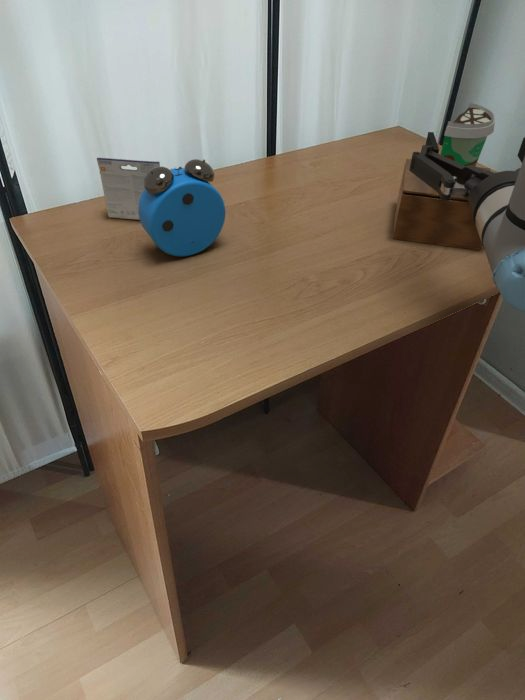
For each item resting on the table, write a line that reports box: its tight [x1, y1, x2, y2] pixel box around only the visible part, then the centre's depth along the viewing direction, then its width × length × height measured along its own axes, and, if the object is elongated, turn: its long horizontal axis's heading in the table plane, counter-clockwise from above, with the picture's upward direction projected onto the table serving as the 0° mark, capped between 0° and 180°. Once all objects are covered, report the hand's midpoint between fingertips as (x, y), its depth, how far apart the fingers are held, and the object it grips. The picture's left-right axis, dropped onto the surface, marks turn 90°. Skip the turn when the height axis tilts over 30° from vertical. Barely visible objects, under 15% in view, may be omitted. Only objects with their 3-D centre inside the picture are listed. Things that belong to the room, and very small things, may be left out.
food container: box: [439, 101, 496, 167], centre depth 91 cm, size 12×6×10 cm, turn 147°
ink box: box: [96, 157, 161, 221], centre depth 95 cm, size 12×2×12 cm, turn 82°
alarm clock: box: [139, 158, 226, 257], centre depth 87 cm, size 13×6×15 cm, turn 119°
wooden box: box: [392, 158, 483, 251], centre depth 96 cm, size 15×13×9 cm
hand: (475, 143), depth 79 cm, fingers open, 13 cm apart
